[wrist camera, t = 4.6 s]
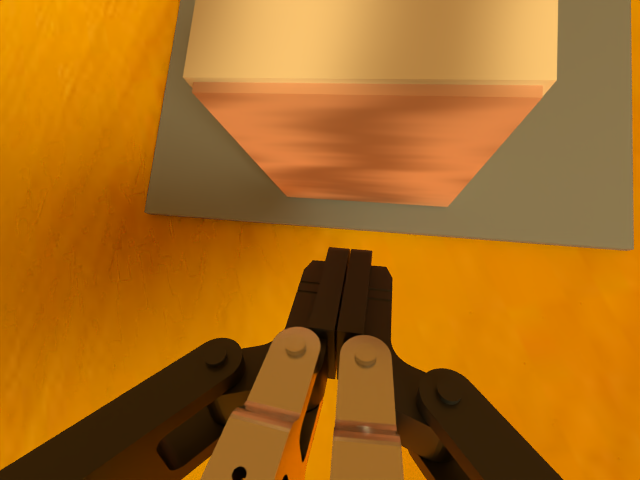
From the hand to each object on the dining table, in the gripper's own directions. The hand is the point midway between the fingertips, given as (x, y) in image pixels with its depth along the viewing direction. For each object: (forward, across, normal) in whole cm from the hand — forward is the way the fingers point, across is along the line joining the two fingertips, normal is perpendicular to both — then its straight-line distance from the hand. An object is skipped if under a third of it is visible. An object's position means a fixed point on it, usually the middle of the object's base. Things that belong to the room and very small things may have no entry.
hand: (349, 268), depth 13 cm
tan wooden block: (+8, 0, +1) cm, 8 cm away
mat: (+12, 0, -3) cm, 13 cm away
